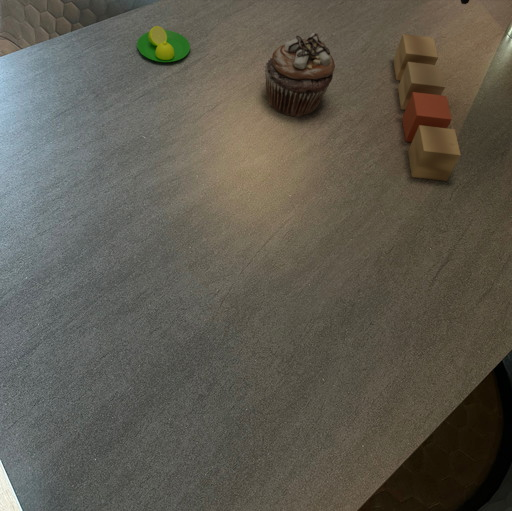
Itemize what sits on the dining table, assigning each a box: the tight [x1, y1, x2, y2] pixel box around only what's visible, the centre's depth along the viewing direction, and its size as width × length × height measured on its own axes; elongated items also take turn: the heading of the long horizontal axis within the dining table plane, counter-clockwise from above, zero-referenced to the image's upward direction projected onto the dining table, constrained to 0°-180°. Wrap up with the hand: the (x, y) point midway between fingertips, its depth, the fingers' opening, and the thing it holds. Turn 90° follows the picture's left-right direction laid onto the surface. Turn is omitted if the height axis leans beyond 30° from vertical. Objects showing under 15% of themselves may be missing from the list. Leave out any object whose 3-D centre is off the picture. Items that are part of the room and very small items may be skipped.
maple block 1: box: [392, 33, 439, 82], centre depth 98 cm, size 5×5×5 cm
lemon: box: [136, 25, 191, 63], centre depth 95 cm, size 8×8×3 cm
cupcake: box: [264, 32, 336, 117], centre depth 89 cm, size 10×10×10 cm
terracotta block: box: [401, 92, 453, 143], centre depth 90 cm, size 5×5×5 cm
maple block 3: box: [407, 125, 461, 182], centre depth 86 cm, size 5×5×5 cm
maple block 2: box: [397, 62, 446, 111], centre depth 94 cm, size 5×5×5 cm
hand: (499, 2), depth 78 cm, fingers open, 9 cm apart
